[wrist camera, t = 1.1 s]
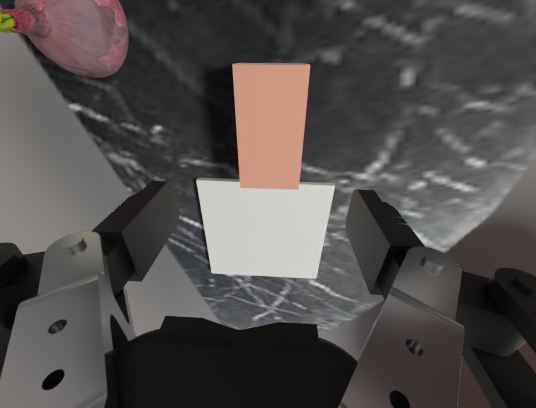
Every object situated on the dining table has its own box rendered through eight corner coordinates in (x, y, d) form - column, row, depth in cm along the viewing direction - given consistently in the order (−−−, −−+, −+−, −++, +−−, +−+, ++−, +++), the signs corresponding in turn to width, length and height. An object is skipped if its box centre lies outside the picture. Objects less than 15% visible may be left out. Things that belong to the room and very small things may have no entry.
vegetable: (88, 69, 20) (-49, 79, 12) (60, -28, 17) (-159, -110, 8) (157, 77, 20) (70, 93, 12) (143, -17, 17) (9, -89, 9)
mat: (197, 177, 25) (196, 180, 25) (333, 182, 25) (335, 185, 25) (212, 269, 34) (211, 273, 33) (315, 275, 33) (316, 278, 33)
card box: (240, 62, 20) (232, 64, 16) (305, 63, 19) (310, 64, 16) (245, 170, 25) (240, 187, 22) (296, 171, 25) (298, 189, 21)
